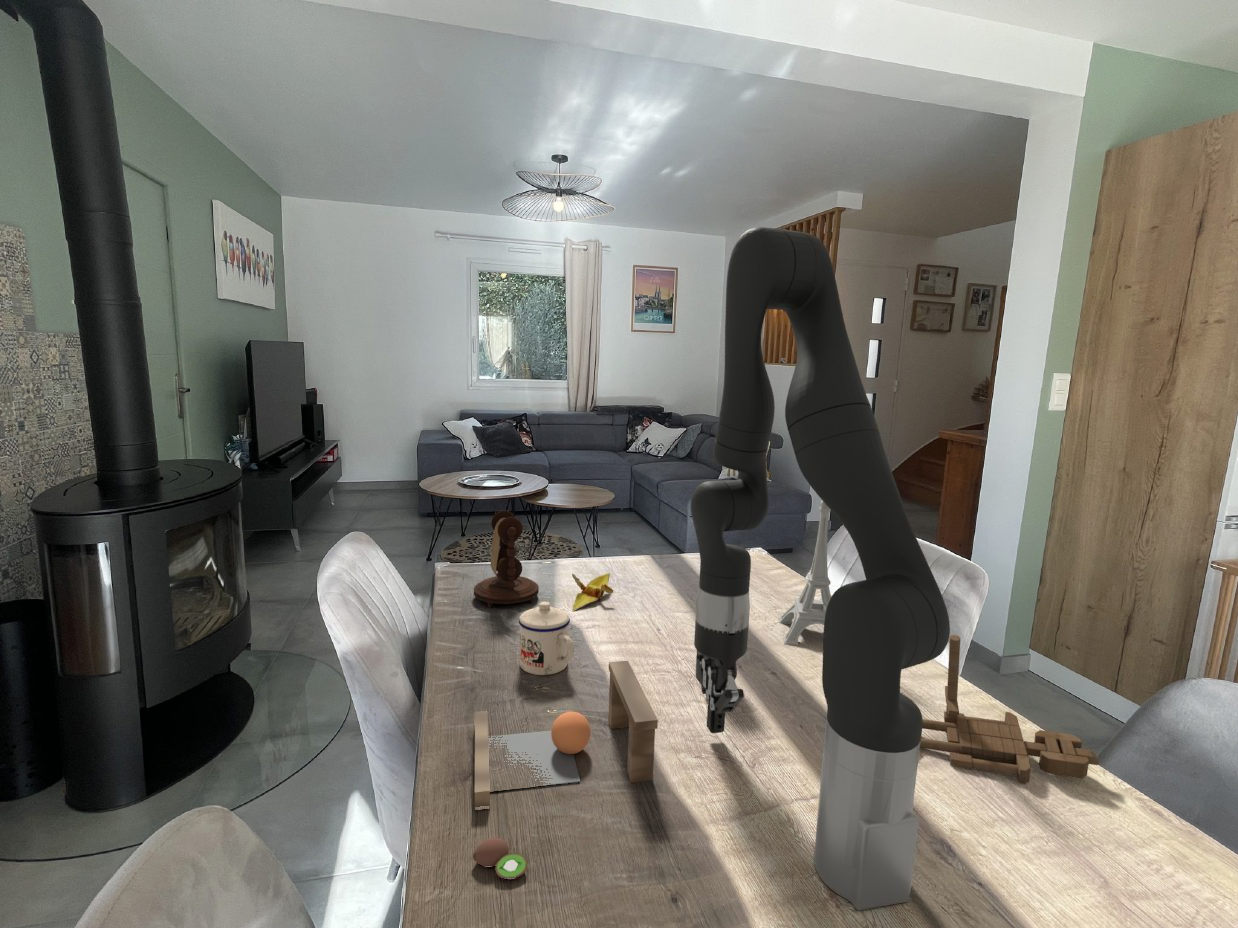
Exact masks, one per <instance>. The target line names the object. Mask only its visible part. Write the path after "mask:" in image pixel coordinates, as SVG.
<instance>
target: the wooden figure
mask: <svg viewBox="0 0 1238 928" xmlns="http://www.w3.org/2000/svg"><path fill="white" fill-rule="evenodd" d="M960 653H961V637H960V636H959V635H956V634H950V635H949V647H948V664H947V665H948V666H947V667H948V668H947V684H946V685H945V686H944V697H945V698H944V699H945V704H946V706H945V707H946V709H945V711H944V712H943V720H944V721H942V720H941V721H940V720H933V719H926V718H923V726H922V730H930V731H938V732H944V733H946V739H947V741H944V740H938V739H932V738H931V739H930V738H925V737H921V742H920V749H927V750H933V751H938V752H939V751H940V752H945V753H949V765H950V766H952V767H955V768H956V767H957V768H961V769H965V770H977V771H984V772H990V773H996V774H1003V775H1009V776H1016V779H1017V782H1018V783H1019V784H1021V785H1027V784H1029V783H1030V780H1031V777H1030V776H1031V771H1032V770H1031V769H1032V767H1031V763H1030V760H1029V757H1030V756H1031V757H1037V758H1039V760H1038V767H1039V769H1040V770H1041V771H1043V772H1044V773H1046V774H1048V775H1049V774H1050V775H1056V776H1062V777H1063V776H1064V777H1068V778H1075V779H1085V777H1087V775H1088V770H1089V765H1094V766H1099V762H1100V761H1099V759H1098V756H1097V754H1096V753H1094V751H1092V750H1091V749H1088V748H1087V749H1086V748H1082V744H1083V743H1082V740H1081V739H1080V738H1079V737H1078V736H1076V735H1074V734H1069V733H1062V732H1056V731H1050V730H1041V729H1039V730H1038V731H1036V732H1035V734H1034V739H1033V741H1025V740H1024V737H1023V733H1022V730H1021V727H1020V723H1019V720H1018V717H1017V715H1015V714H1014V713H1012V712H1010V711H1005V713H1004V720H996V719H989V718H983V717H982V718H981V717H975V716H968V715H967V716H966V715H965V713H961V712H960V708H959V702H958V686H959V671H960V655H961V654H960Z"/></svg>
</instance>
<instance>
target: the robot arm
mask: <svg viewBox="0 0 1238 928" xmlns="http://www.w3.org/2000/svg"><path fill="white" fill-rule="evenodd" d="M832 262H833V261H832V259H831V256H830V253H829V251H828V249H827V247H826V246H825V244H824V242H822V241H821V239H820V238H819V237H817V236H815V235H813V234H811V233H808V232H805V231H803V232H802V231H796V230H790V229H783V228H782V229H781V228H774V227H773V228H772V227H763V226H758V227H752V228H750V229H748V230H746V231H744V232H743V234H741V235H740V236H739V238H738V239H737V240H736V242H735V244H734V246H733V248H732V250H731V253H730V257H729V262H728V267H727V273H726V289H725V318H724V322H725V323H724V372H723V373H724V375H723V376H724V377H723V388H722V389H723V390H722V395H721V406H720V411H719V416H718V421H717V427H716V433H715V438H714V442H713V443H714V444H713V452H712V454H713V458H714V460H715V461H716V463H717V464H718V465H720V466H722V467H723V468H726V469H729V470H733V471H736V472H737V479H735V480H732V479H730V480H729V479H727V480H707V481H704V482H702V483H700V484H699V485H698V486H696V488H695V489H694V491H693V493H692V496H691V500H690V514H691V518H692V522H693V526H694V531H695V534H696V535H695V536H696V541H697V545H698V552H699V559H700V566H699V580H698V581H699V582H698V583H699V584H698V585H699V586H698V591H697V597H696V604H695V605H696V606H695V618H694V619H695V622H694V623H695V624H694V643H693V645H694V648H695V650H696V655H695V656H696V657H695V659H696V658H697V664H698V670H699V676H700V680H699V682H700V687H701V693H702V694H703V695H705V703H706V705H707V711H706V712H707V713H706V714H707V716H706V727H707V729H708V731H709V732H710V734H719V733H723V732H724V731H725V723H726V722H725V721H726V713H733V712H734V711H735V710H736V709H737V707H738V706H739V705H740V704H741V702H742V700H744V697H745V693H744V689H743V688H737V684H736V681H735V680H736V679H737V676H738V668H737V661H738V660H740V658H741V657H743V656H744V655H746V653H747V652H748V651H747V650H748V643H749V642H748V639H749V627H750V626H749V625H750V623H749V622H750V614H751V612H750V610H751V603H750V602H751V601H750V586H751V585H750V582H751V571H752V570H751V568H752V567H751V566H752V560H751V559H752V558H751V557H752V556H751V554H750V552H749V551H748V550H747V549H746V548H744V547H742V546H739V545H735V544H730V543H726V542H725V539H724V532H735V531H748V530H749V531H750V530H754V529H756V528H757V527H759V526H760V525H761V524H763V522H764V520H765V519H766V517H767V515H768V512H769V504H770V503H769V502H770V501H769V500H770V499H769V498H770V497H769V489H768V488H769V487H768V478H767V477H768V474H767V473H768V471H767V454H768V449H769V445H770V440H771V435H772V432H773V431H772V430H773V427H774V426H773V425H774V419H775V396H774V390H773V388H772V385H771V381H770V378H769V374H768V371H767V368H766V365H765V361H764V355H763V349H762V334H763V326H764V321H765V316H766V314H767V310H777V311H778V310H779V311H784V313H786V315H787V318H788V319H789V322H790V326H791V328H792V332H793V335H794V336H793V337H794V340H795V344H796V345H795V346H796V362H795V367H794V370H793V374H792V377H791V381H790V384H789V388H788V392H787V395H786V401H785V408H784V415H785V416H784V418H785V422H786V423H785V424H786V427H787V431H788V435H789V438H790V442H791V445H792V448H793V452H794V456H795V459H796V462H797V465H798V469H799V471H800V472H801V473H802V475H803V477H804V479H805V480H806V481H807V483H808V484H809V487H810V488H811V489H812V490H813V491H814V492H815V494H816V495H817V496H818V497H819V498H820V500H823V502H824V503H825V504H826V505H827V506H828V507H829V508H830V510H831V511H830V512H832V514H834V515H835V516H836V518H837V519H838V521H839V522H841V524H842V525H843V526H844V528H845V530H846V532H848V534H849V536H850V538H851V540H852V541H853V544H854V547H855V548H856V551H857V554H858V557H859V559H860V563H861V567H862V569H863V573H864V577H865V579H864V580H857V581H854V582H850V583H846V584H844V585H842V586H840V587H838V589H836V590H835V591H834V592H833V593H832V595H831V599H830V601H829V603H828V606H827V609H826V614H825V621H824V625H823V637H822V638H823V640H822V643H823V644H822V670H821V671H822V673H821V674H822V677H821V683H822V690H823V695H824V698H825V702H826V706H827V712H826V719H825V720H826V721H825V731H824V743H823V752H822V753H823V755H822V763H821V775H820V784H819V785H820V786H819V797H818V806H817V807H818V808H817V818H816V833H815V842H814V854H813V855H814V856H813V863H814V868H815V870H816V872H817V875H818V876H819V878H820V879H821V881H822V882H823V883H824V884H825V885H827V887H828V888H829V889H831V890H832V891H833V892H834V893H836V894H837V895H838V896H841V898H844V899H846V900H847V901H849V902H850V903H851V904H852V906H853V907H854V908H855V909H856V910H857V911H863V910H868V909H869V910H870V909H875V908H880V907H884V906H889V905H892V906H893V905H896V904H901V903H907V902H910V897H911V887H912V879H913V870H914V863H915V854H916V848H917V847H916V846H917V837H918V836H917V835H918V829H919V819H918V818H917V816H915V814H914V813H913V806H914V801H915V800H914V799H915V792H916V784H917V783H916V782H917V775H918V774H917V773H918V765H919V760H920V759H919V757H920V749H921V748H920V742H921V738H922V734H923V729H922V726H923V719H924V718H923V714H922V712H921V710H920V708H919V706H918V705H917V704H916V703H915V702H914V701H913V700H912V699H911V698H910V697H908V696H906V695H905V694H903V693H902V692H901V678H902V677H901V676H902V670H904V669H909V668H912V667H915V666H917V665H922V664H924V663H927V662H930V661H932V660H935V659H936V658H937V657H939V656H940V655H942V653H943V652H944V651H945V650H946V648H947V645H948V643H949V641H950V636H951V634H950V633H951V627H950V626H951V624H950V616H949V614H948V608H947V605H946V603H945V599H944V596H943V594H942V592H941V589H940V587H939V585H938V582H937V581H936V578H935V577H934V573H933V572H932V570H931V568H930V566H929V564H928V563H929V562H928V560H927V558H926V557H925V554H924V551H923V550H922V548H921V545H920V543H919V541H918V538H917V536H916V534H915V532H914V530H913V527H912V525H911V523H910V519H909V517H908V515H907V512H906V509H905V507H904V503H903V500H902V498H901V494H900V492H899V489H898V486H897V483H896V481H895V478H894V474H893V472H892V468H891V467H890V463H889V461H888V457H887V454H886V452H885V447H884V445H883V440H882V437H881V433H880V430H879V427H878V424H877V421H876V417H875V414H874V411H873V408H872V406H871V403H870V401H869V398H868V396H867V393H866V390H865V388H864V384H863V382H862V378H861V376H860V371H859V369H858V365H857V362H856V359H855V355H854V352H853V351H854V350H853V349H852V344H851V341H850V339H849V338H850V337H849V334H848V332H847V327H846V323H845V319H844V314H843V310H842V304H841V299H840V294H839V289H838V285H837V280H836V275H835V270H834V267H833V263H832ZM697 651H698V652H699V653H697Z"/></svg>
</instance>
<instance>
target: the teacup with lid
mask: <svg viewBox="0 0 1238 928" xmlns="http://www.w3.org/2000/svg"><path fill="white" fill-rule="evenodd" d="M570 623H571V619H570V616H569V614H568V613H567V612H566V611H564V610H563V609H561V608H560V609H559V608H556V607H553V606H551V603H550V602H548V601H541V602H540V603H539V604H538V606H536V607H535V608H531V609H528V610H525V611H524V612H523V613H521V615H520V616H519V618H518V624H519V666H520V669H522V670H523V671H524V672H526V673H528V674H532V675H535V676H548V675H554V674H557V673H560V672H561V671H563V670H564V669H565V668H567V666H568V663H569V662H570V661H571V660H572V659H573V657H574V655H575V644H574V642H573V640H572V639H571V638H570V636H569V625H570Z"/></svg>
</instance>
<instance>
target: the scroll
mask: <svg viewBox="0 0 1238 928" xmlns="http://www.w3.org/2000/svg"><path fill="white" fill-rule="evenodd" d="M490 526H491V528H492V530H493V534H492V540H491V550H490V551H491V553H490V568H491V570H492V572H493V573H494V575H495V576H492V577H487V578H485V579H483V580H482V581H480V582H477V584H475V585H474V587H473V596H474V597H475V598H476V599H477V600H478V601H482V602H484V603H487V607H488V609H491V608H492V607H493V605H494V604H496V605H497V604H498V605H507V604H509V605H511V604H512V605H513V604H518V603H523V602H527V601H529V603H530V604H532V603H534V601H535V597H537V595H538V594H539V591H540V590H539V589H540V587H539V584H538V583H537V582H536V581H534V580H532V579H530V578H528V577H525V576H521V575H522V572H523V564H522V562H521V561H520V560H519V559H518V558H516V555H517V550H516V549H517V548H516V547H515V545H516V541H517V540H518V539H519V538H520V537H521V536H522V533H523V524H522V522H521V521H520V520H519V519H518V518H517V517H515V515H514V514H513V512H511V511H509V510H500V511H498V512H496V513H494V515H493V516H492V518H491V525H490Z"/></svg>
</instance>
